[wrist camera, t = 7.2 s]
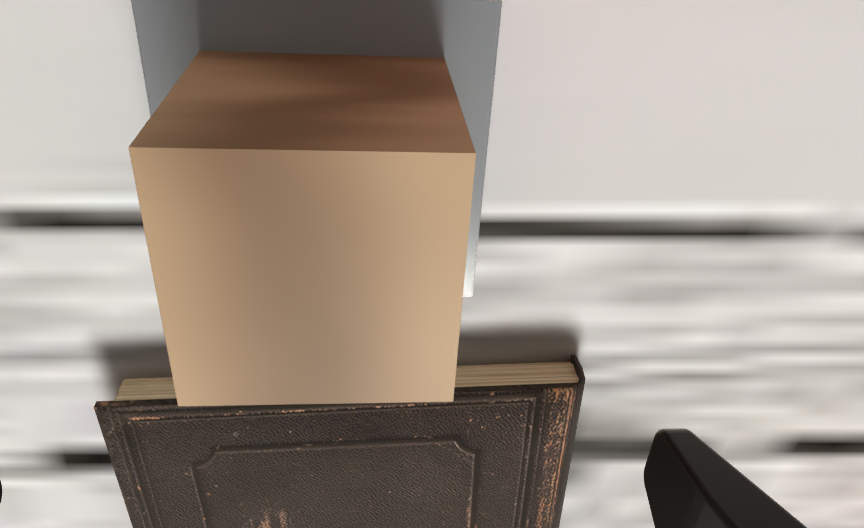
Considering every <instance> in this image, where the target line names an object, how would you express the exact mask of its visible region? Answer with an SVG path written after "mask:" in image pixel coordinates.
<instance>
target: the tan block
mask: <svg viewBox="0 0 864 528" xmlns="http://www.w3.org/2000/svg"><path fill="white" fill-rule="evenodd" d="M129 152H130V157H131V162H132V168H133V173H134V178H135V183H136V189H137V194H138V199H139V204H140V210H141V215H142V220H143V225H144V230H145V236H146V241H147V246H148V251H149V257H150V262H151V267H152V272H153V277H154V283H155V288H156V293H157V298H158V304H159V309H160V314H161V319H162V325H163V330H164V335H165V340H166V345H167V351H168V356H169V361H170V366H171V372H172V377H173V382H174V387H175V392H176V398H177V403H178V406H226V405H285V404H344V403H403V402H453V398H454V387H455V377H456V366H457V355H458V344H459V333H460V322H461V311H462V300H463V290H464V279H465V268H466V257H467V246H468V235H469V224H470V213H471V203H472V192H473V181H474V170H475V159H476V152H475V149H474V146H473V143H472V140H471V137H470V133H469V130H468V127H467V124H466V121H465V118H464V115H463V112H462V109H461V106H460V103H459V100H458V97H457V94H456V91H455V88H454V85H453V82H452V79H451V76H450V73H449V70H448V67H447V64H446V61H445V58H432V57H398V56H365V55H332V54H298V53H265V52H232V51H199V52H198V53H197V55H196V56H195V57H194V59H193V60H192V61H191V63H190V64H189V65H188V67H187V68H186V70H185V71H184V72H183V74H182V75H181V76H180V78H179V79H178V81H177V82H176V83H175V85H174V86H173V87H172V89H171V90H170V91H169V93H168V94H167V96H166V97H165V98H164V100H163V101H162V102H161V104H160V105H159V106H158V108H157V109H156V111H155V112H154V113H153V115H152V116H151V117H150V119H149V120H148V122H147V123H146V124H145V126H144V127H143V128H142V130H141V131H140V132H139V134H138V135H137V137H136V138H135V139H134V141H133V142H132V143H131V145H130V146H129Z"/></svg>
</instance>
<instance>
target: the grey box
mask: <svg viewBox="0 0 864 528" xmlns="http://www.w3.org/2000/svg"><path fill="white" fill-rule="evenodd" d="M131 2H132V8H133V14H134V20H135V26H136V32H137V38H138V44H139V50H140V55H141V61H142V67H143V73H144V79H145V85H146V91H147V97H148V103H149V109H150V114H151V116H152V115H153V113H154V112H155V111H156V109H157V108H158V106H159V105H160V104H161V102H162V101H163V100H164V98H165V97H166V96H167V94H168V93H169V91H170V90H171V89H172V87H173V86H174V85H175V83H176V82H177V81H178V79H179V78H180V76H181V75H182V74H183V72H184V71H185V70H186V68H187V67H188V65H189V64H190V63H191V61H192V60H193V59H194V57H195V56H196V55H197V53H198V52H199V51H232V52H265V53H298V54H332V55H365V56H398V57H432V58H445V61H446V64H447V67H448V70H449V73H450V76H451V79H452V82H453V85H454V88H455V91H456V94H457V97H458V100H459V103H460V106H461V109H462V112H463V115H464V118H465V121H466V124H467V127H468V130H469V133H470V137H471V140H472V143H473V146H474V149H475V152H476V159H475V170H474V181H473V192H472V203H471V213H470V224H469V235H468V246H467V257H466V268H465V279H464V290H463V297H472V295H473V285H474V275H475V265H476V255H477V245H478V235H479V225H480V215H481V205H482V195H483V185H484V175H485V165H486V156H487V146H488V136H489V126H490V116H491V106H492V96H493V86H494V76H495V66H496V56H497V46H498V36H499V26H500V16H501V6H502V1H501V0H131Z"/></svg>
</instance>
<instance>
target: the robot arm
mask: <svg viewBox="0 0 864 528" xmlns="http://www.w3.org/2000/svg"><path fill="white" fill-rule="evenodd" d="M644 483H645V488H646V492H647V496H648V500H649V504H650V509H651V513H652V517H653V521H654V525H655V528H807V527H806V526H804V525H803V524H802V523H801V522H800V521H798V520H797V519H796V518H795V517H794V516H792V515H791V514H790V513H789V512H788V511H786V510H785V509H784V508H783V507H782V506H780V505H779V504H778V503H777V502H775V501H774V500H773V499H772V498H771V497H769V496H768V495H767V494H766V493H765V492H763V491H762V490H761V489H760V488H759V487H757V486H756V485H755V484H754V483H753V482H751V481H750V480H749V479H748V478H747V477H745V476H744V475H743V474H742V473H741V472H739V471H738V470H737V469H736V468H735V467H733V466H732V465H731V464H730V463H728V462H727V461H726V460H725V459H724V458H722V457H721V456H720V455H719V454H718V453H716V452H715V451H714V450H713V449H712V448H710V447H709V446H708V445H707V444H706V443H704V442H703V441H702V440H701V439H700V438H698V437H697V436H696V435H695V434H694V433H692V432H691V431H689V430H687V429H661V430H659V431H658V432H657V433H656V434H655V437H654V440H653V443H652V446H651V449H650V452H649V456H648V459H647V462H646V465H645V469H644ZM1 498H2V485H1V481H0V503H1Z"/></svg>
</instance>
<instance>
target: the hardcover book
mask: <svg viewBox="0 0 864 528" xmlns="http://www.w3.org/2000/svg"><path fill="white" fill-rule="evenodd" d="M584 384H585V376H584V372H583V368H582V366H581V364H580V362H579V361H578V359H577V357H576V356H575V355H571V360H570V362H544V363H518V364H492V365H467V366H456V377H455V387H454V398H453V402H403V403H344V404H285V405H226V406H178V403H177V398H176V392H175V387H174V382H173V377H156V378H130V379H124V381H122V384H121V386H120V388H119V390H118V394H117V397H116V398H115V400H114V401H98V402H96V404H95V406H94V409H95V412H96V415H97V419H98V422H99V425H100V428H101V431H102V434H103V437H104V440H105V443H106V446H107V449H108V452H109V455H110V458H111V462H112V465H113V468H114V471H115V474H116V477H117V480H118V483H119V486H120V489H121V492H122V495H123V498H124V501H125V505H126V508H127V511H128V514H129V517H130V520H131V523H132V526H133V528H559V524H560V518H561V513H562V507H563V501H564V496H565V490H566V485H567V479H568V473H569V468H570V462H571V457H572V451H573V445H574V440H575V434H576V428H577V423H578V417H579V412H580V406H581V400H582V395H583V389H584Z"/></svg>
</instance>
